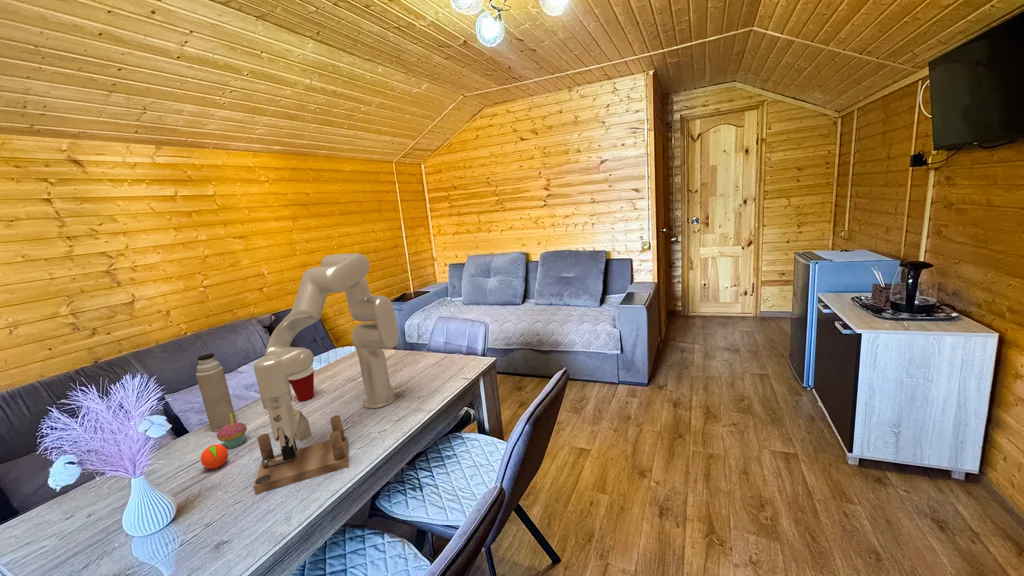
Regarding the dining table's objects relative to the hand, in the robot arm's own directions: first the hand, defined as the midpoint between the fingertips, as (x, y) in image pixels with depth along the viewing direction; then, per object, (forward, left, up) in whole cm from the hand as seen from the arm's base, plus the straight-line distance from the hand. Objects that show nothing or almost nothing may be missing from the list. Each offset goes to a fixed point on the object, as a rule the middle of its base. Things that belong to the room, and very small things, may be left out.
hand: (290, 454), depth 124 cm
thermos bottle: (+27, -43, -4) cm, 51 cm away
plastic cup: (0, -51, -4) cm, 51 cm away
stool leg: (+3, 0, -1) cm, 3 cm away
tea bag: (-1, -19, -5) cm, 20 cm away
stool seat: (-4, +2, -4) cm, 6 cm away
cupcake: (+20, -26, -4) cm, 33 cm away
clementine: (+22, -13, -4) cm, 26 cm away
